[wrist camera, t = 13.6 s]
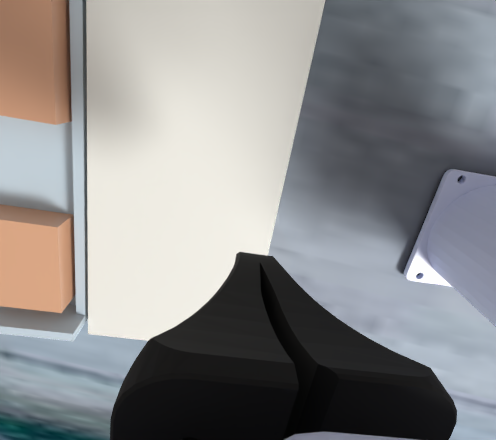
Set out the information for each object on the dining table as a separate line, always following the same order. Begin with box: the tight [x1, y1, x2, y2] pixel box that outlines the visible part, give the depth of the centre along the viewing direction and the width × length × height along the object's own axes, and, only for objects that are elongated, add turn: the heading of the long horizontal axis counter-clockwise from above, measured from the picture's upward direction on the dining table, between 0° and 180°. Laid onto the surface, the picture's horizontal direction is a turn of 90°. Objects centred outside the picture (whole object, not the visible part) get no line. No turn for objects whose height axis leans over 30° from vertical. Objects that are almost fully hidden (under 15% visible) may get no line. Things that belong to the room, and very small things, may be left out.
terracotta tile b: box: [0, 204, 76, 313], centre depth 20 cm, size 5×6×2 cm
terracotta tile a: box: [0, 0, 72, 125], centre depth 16 cm, size 5×6×2 cm
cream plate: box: [86, 0, 325, 341], centre depth 20 cm, size 11×22×2 cm, turn 170°
